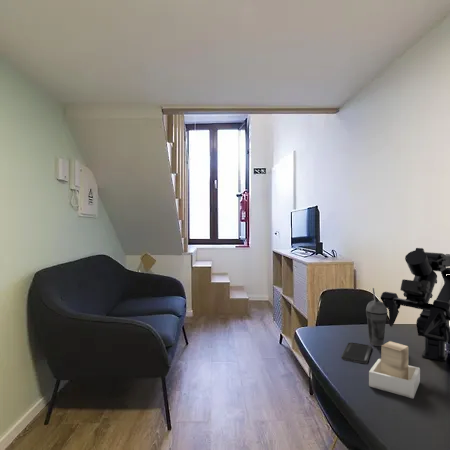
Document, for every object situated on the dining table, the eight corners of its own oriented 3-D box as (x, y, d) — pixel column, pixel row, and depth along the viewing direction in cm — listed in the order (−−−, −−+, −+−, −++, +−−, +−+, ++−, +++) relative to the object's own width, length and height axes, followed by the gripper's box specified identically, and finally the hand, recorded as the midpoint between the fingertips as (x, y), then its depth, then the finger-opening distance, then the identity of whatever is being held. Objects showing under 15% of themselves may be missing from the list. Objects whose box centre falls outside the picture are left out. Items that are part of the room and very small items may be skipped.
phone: (372, 345, 120) (366, 361, 106) (372, 349, 120) (366, 365, 107) (348, 341, 123) (340, 356, 110) (348, 345, 123) (340, 360, 110)
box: (378, 372, 101) (378, 358, 101) (419, 382, 95) (419, 367, 94) (368, 386, 92) (369, 371, 92) (413, 398, 86) (413, 382, 86)
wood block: (389, 376, 97) (389, 341, 97) (408, 382, 93) (408, 346, 93) (381, 381, 94) (381, 345, 94) (400, 388, 90) (400, 350, 90)
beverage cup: (391, 347, 120) (391, 290, 119) (370, 347, 120) (370, 290, 120) (382, 340, 127) (382, 286, 127) (362, 340, 127) (362, 286, 127)
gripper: (383, 265, 108) (365, 306, 101) (451, 273, 94) (435, 321, 87) (394, 287, 114) (378, 327, 107) (460, 297, 99) (446, 344, 92)
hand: (406, 329), depth 98 cm, fingers open, 9 cm apart
